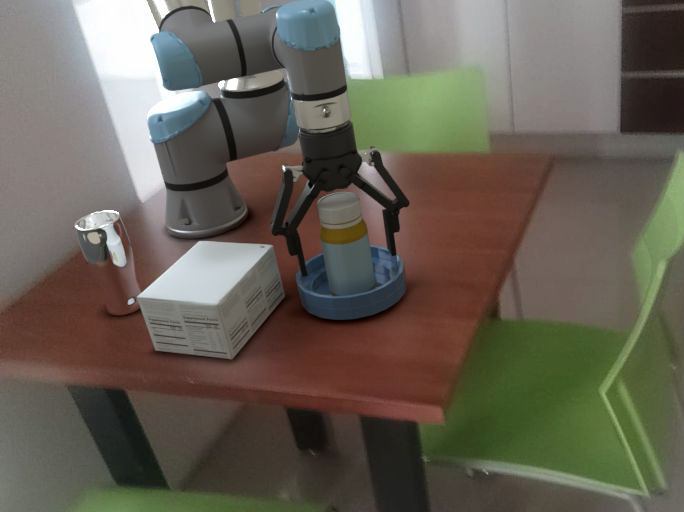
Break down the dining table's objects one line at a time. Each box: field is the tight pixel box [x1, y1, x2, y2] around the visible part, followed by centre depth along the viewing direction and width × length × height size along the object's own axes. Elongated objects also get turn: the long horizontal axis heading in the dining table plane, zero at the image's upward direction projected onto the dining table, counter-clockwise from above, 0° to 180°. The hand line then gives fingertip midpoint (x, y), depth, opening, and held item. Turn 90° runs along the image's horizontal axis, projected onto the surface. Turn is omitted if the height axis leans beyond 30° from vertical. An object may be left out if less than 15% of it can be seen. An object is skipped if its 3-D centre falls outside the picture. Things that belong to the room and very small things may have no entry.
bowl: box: [295, 244, 408, 321], centre depth 119 cm, size 16×16×4 cm
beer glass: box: [73, 210, 143, 317], centre depth 121 cm, size 7×7×15 cm
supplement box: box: [137, 240, 286, 360], centre depth 115 cm, size 17×13×9 cm
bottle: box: [316, 191, 376, 296], centre depth 116 cm, size 7×7×15 cm
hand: (348, 262), depth 117 cm, fingers open, 13 cm apart
